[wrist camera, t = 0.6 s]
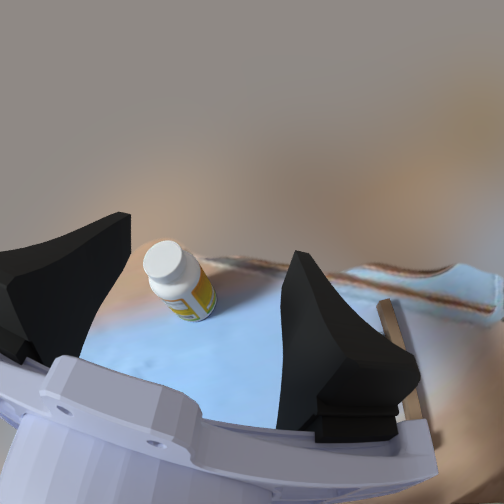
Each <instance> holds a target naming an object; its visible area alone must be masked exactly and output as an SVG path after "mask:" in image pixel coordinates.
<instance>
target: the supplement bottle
mask: <svg viewBox="0 0 504 504" xmlns="http://www.w3.org/2000/svg"><path fill="white" fill-rule="evenodd" d="M143 267H144V270H145V272H146V273H147V275H148V276H149V283H150V286H151V288H152V290H153V291H154V293H155V294H156V295H157V296H158V297H159V298H160V299H161V300H162V301H163V302H164V303H165V304H166V305H167V306H168V307H169V308H170V309H171V310H172V311H173V312H174V313H175V314H176V315H177V316H178V317H180V318H181V319H183V320H185V321H188V322H197V321H201V320H203V319H205V318H206V317H207V316H209V315H210V313H211V312H212V311H213V309H214V307H215V305H216V292H215V290H214V288H213V286H212V284H211V283H210V281H209V279H208V278H207V276H206V274H205V273H204V271H203V269H202V267H201V266H200V264H199V262H198V261H197V260H196V258H195V257H194V256H193V255H192V254H190V253H189V252H187V251H184V250H182V248H181V247H180V246H179V245H178V244H177V243H176V242H174V241H162V242H159V243H157V244H155V245H154V246H152V247H151V248H150V249H149V250H148V252H147V253H146V255H145V257H144V261H143Z"/></svg>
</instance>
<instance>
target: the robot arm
mask: <svg viewBox="0 0 504 504" xmlns="http://www.w3.org/2000/svg"><path fill="white" fill-rule="evenodd" d="M130 254H131V214H127V213H123V212H117V213H114V214H111V215H109V216H106V217H104V218H102V219H100V220H98V221H95V222H93V223H91V224H89V225H87V226H84V227H82V228H80V229H77V230H75V231H73V232H71V233H68V234H66V235H63V236H61V237H58V238H55V239H52V240H50V241H47V242H43V243H40V244H36V245H32V246H29V247H25V248H20V249H15V250H9V251H3V252H0V418H2V419H3V420H4V421H5V422H7V423H8V424H10V425H11V426H13V427H14V428H15V429H17V432H16V435H15V437H14V440H13V442H12V445H11V447H10V450H9V452H8V455H7V458H6V460H5V464H4V466H3V469H2V472H1V475H0V504H335V503H342V502H350V501H356V500H362V499H368V498H374V497H379V496H384V495H389V494H394V493H398V492H400V491H403V490H405V489H408V488H410V487H412V486H415V485H417V484H419V483H421V482H424V481H426V480H428V479H430V478H432V477H434V476H436V475H437V474H438V468H437V462H436V458H435V453H434V448H433V444H432V439H431V435H430V431H429V427H428V423H427V419H416V420H406V421H402V422H399V423H397V424H396V419H395V416H397V415H398V414H399V409H398V404H399V403H400V402H402V401H403V400H404V399H405V398H406V397H407V396H408V395H409V394H410V393H411V392H412V391H413V390H414V389H415V388H416V387H417V385H418V383H419V381H420V372H419V369H418V366H417V363H416V360H415V357H414V355H412V354H411V353H409V352H407V351H406V350H404V349H402V348H401V347H399V346H397V345H396V344H394V343H392V342H391V341H390V340H388V339H387V338H385V337H384V336H383V335H381V334H380V333H379V332H377V331H376V330H375V329H374V328H372V327H371V326H370V325H369V324H368V323H367V322H365V321H364V320H363V319H362V318H361V317H360V316H359V315H358V314H357V313H356V312H355V311H354V310H353V309H352V308H351V307H350V306H349V305H348V304H347V303H346V302H345V301H344V299H343V298H342V297H341V296H340V295H339V293H338V292H337V291H336V290H335V289H334V287H333V286H332V285H331V283H330V282H329V281H328V279H327V278H326V277H325V275H324V274H323V272H322V271H321V269H320V268H319V267H318V265H317V264H316V263H315V261H314V259H313V258H312V257H311V255H310V254H309V253H305V252H301V251H296V250H295V252H294V255H293V258H292V260H291V263H290V266H289V269H288V271H287V274H286V277H285V280H284V282H283V285H282V291H281V305H280V308H281V325H282V340H283V368H282V381H281V393H280V402H279V410H278V418H277V425H276V429H268V428H260V427H252V426H244V425H237V424H231V423H225V422H219V421H214V420H209V419H203V418H202V412H201V409H200V407H199V405H198V404H197V403H196V401H194V400H193V399H191V398H190V397H188V396H187V395H185V394H184V393H183V392H180V391H177V390H174V389H172V388H169V387H166V386H164V385H160V384H157V383H153V382H149V381H146V380H143V379H139V378H136V377H133V376H129V375H126V374H123V373H120V372H117V371H114V370H111V369H108V368H105V367H102V366H100V365H97V364H94V363H91V362H89V361H86V360H84V359H81V358H79V356H80V353H81V350H82V347H83V344H84V342H85V339H86V336H87V334H88V331H89V329H90V326H91V324H92V322H93V320H94V317H95V315H96V313H97V311H98V309H99V308H100V306H101V304H102V302H103V301H104V299H105V298H106V296H107V295H108V293H109V291H110V290H111V288H112V287H113V285H114V284H115V282H116V280H117V279H118V277H119V276H120V274H121V273H122V271H123V269H124V267H125V265H126V263H127V261H128V259H129V257H130Z"/></svg>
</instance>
